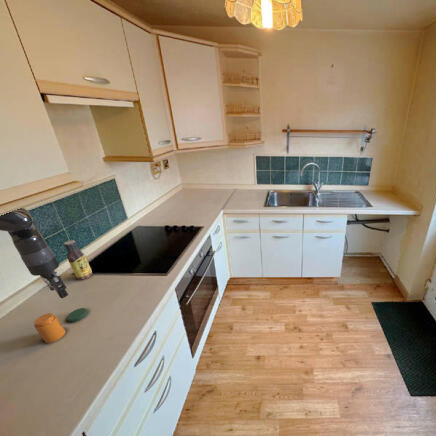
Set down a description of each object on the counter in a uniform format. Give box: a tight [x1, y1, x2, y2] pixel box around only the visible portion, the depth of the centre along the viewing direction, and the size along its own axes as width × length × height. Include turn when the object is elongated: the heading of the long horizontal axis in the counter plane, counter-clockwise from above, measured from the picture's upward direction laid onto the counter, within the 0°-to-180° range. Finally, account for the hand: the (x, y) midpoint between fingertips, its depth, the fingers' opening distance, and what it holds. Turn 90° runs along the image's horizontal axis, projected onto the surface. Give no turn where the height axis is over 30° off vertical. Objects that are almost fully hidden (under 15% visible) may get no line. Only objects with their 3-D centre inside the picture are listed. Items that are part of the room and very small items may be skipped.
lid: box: [66, 307, 88, 323], centre depth 92 cm, size 6×6×2 cm
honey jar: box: [33, 312, 66, 344], centre depth 83 cm, size 6×6×9 cm
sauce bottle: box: [63, 239, 93, 281], centre depth 111 cm, size 6×6×20 cm
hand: (59, 292), depth 90 cm, fingers open, 8 cm apart
